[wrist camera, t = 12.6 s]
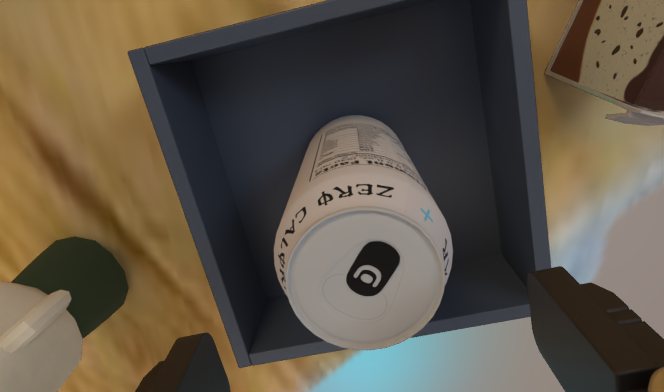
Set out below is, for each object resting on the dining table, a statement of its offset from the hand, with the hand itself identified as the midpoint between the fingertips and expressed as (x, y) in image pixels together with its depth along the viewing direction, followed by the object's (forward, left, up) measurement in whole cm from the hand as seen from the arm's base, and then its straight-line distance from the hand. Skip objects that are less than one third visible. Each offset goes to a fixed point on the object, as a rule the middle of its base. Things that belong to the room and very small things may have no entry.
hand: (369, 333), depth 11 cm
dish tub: (0, 0, -18) cm, 18 cm away
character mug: (-20, -4, -18) cm, 28 cm away
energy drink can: (0, 0, -18) cm, 18 cm away
